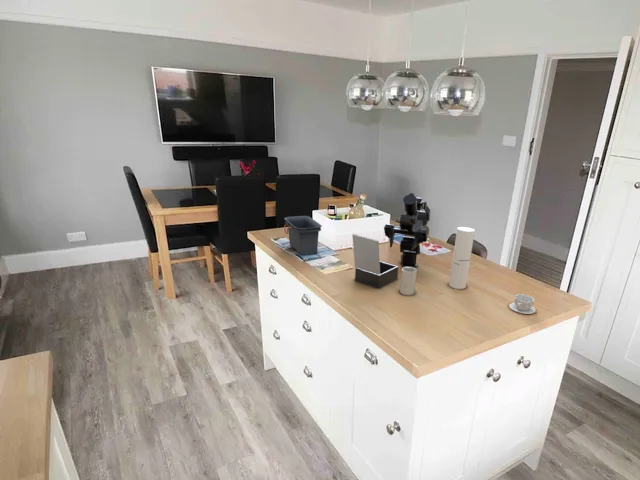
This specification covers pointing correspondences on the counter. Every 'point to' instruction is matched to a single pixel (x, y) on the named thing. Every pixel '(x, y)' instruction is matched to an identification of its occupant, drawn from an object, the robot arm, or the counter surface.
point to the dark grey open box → (372, 279)
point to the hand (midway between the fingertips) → (401, 248)
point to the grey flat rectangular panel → (366, 254)
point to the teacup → (523, 304)
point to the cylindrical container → (461, 257)
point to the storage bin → (303, 234)
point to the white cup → (408, 280)
